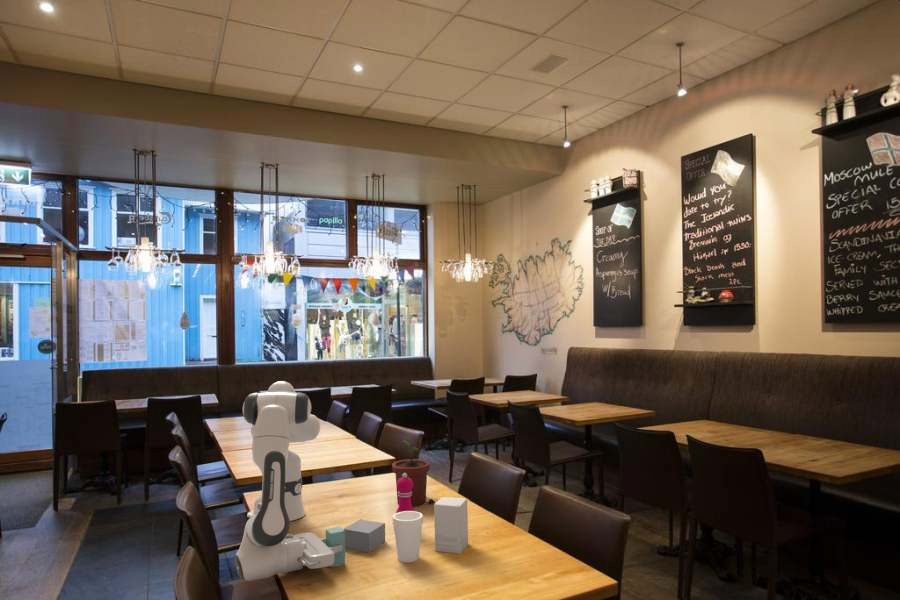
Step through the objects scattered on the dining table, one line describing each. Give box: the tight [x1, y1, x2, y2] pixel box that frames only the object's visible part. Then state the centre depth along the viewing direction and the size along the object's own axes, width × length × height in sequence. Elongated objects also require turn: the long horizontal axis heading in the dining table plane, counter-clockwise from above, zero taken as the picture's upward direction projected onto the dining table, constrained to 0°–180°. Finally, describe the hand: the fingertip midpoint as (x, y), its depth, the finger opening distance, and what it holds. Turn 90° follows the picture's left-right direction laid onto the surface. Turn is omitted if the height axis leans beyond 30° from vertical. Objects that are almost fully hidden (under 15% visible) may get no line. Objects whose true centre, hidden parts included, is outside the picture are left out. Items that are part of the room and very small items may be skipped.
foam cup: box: [392, 510, 424, 563], centre depth 175 cm, size 10×9×13 cm
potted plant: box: [391, 440, 436, 508], centre depth 233 cm, size 18×22×25 cm
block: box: [325, 525, 346, 568], centre depth 173 cm, size 4×4×10 cm
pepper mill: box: [395, 473, 415, 514], centre depth 200 cm, size 7×7×20 cm
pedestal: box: [342, 519, 386, 553], centre depth 187 cm, size 10×10×6 cm
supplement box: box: [433, 496, 469, 554], centre depth 183 cm, size 9×9×15 cm
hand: (338, 544), depth 173 cm, fingers closed on block, 4 cm apart
